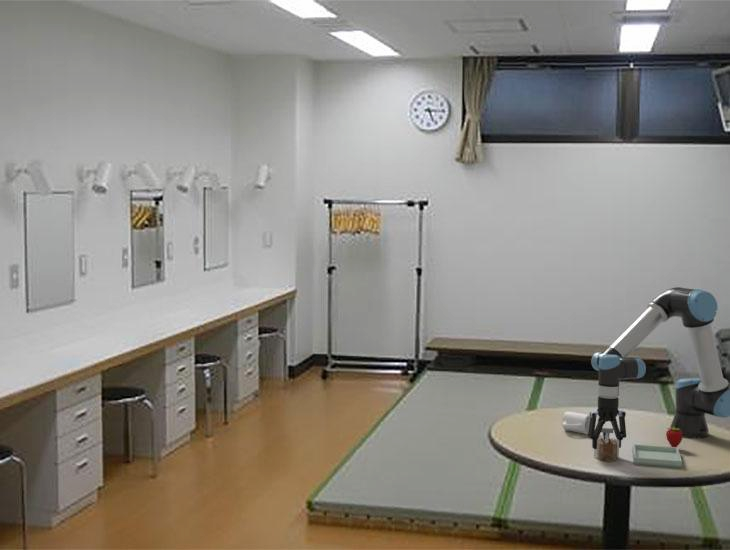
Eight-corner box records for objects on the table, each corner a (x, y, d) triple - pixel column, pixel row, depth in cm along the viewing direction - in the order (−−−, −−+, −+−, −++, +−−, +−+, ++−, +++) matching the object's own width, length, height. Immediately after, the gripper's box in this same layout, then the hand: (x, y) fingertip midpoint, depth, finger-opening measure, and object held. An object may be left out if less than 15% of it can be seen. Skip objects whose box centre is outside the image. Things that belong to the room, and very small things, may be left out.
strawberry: (670, 451, 363) (671, 426, 362) (662, 446, 370) (663, 421, 369) (685, 451, 363) (686, 426, 362) (677, 446, 371) (678, 421, 370)
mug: (570, 428, 397) (571, 409, 396) (592, 432, 391) (593, 413, 390) (557, 433, 388) (557, 414, 387) (579, 437, 381) (579, 418, 381)
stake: (612, 456, 354) (613, 428, 353) (612, 458, 352) (613, 429, 351) (598, 455, 355) (599, 427, 354) (598, 457, 353) (599, 428, 352)
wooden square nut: (596, 453, 358) (596, 437, 358) (612, 454, 358) (613, 438, 357) (600, 461, 348) (600, 445, 347) (616, 461, 347) (617, 445, 347)
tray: (677, 453, 359) (677, 447, 359) (681, 468, 340) (682, 461, 340) (632, 450, 363) (632, 444, 363) (634, 464, 344) (634, 457, 344)
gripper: (628, 393, 357) (626, 452, 359) (578, 395, 353) (576, 455, 354) (638, 397, 350) (635, 458, 351) (587, 399, 345) (585, 460, 347)
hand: (606, 456), depth 353 cm, fingers closed on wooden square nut, 7 cm apart
